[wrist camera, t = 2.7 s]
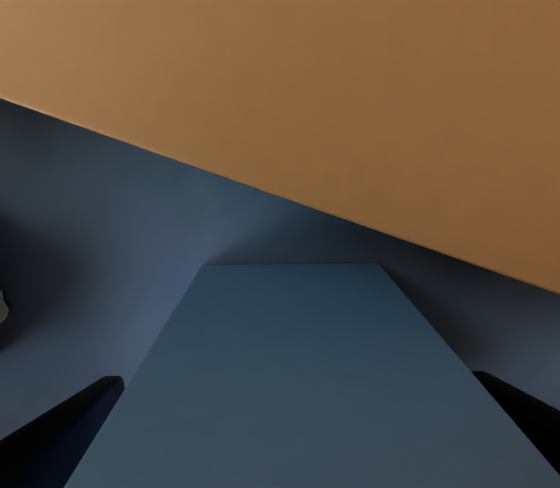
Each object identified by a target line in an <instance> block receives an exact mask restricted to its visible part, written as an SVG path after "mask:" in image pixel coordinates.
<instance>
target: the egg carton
mask: <svg viewBox="0 0 560 488" xmlns="http://www.w3.org/2000/svg"><path fill="white" fill-rule="evenodd" d="M8 312H9V309H8V307H7V305H6V304H5V302H4V300H3V294H2V291H1V290H0V323H2V322H3V321H4V320H5V319H6V317H7V314H8Z"/></svg>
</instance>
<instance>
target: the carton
mask: <svg viewBox="0 0 560 488" xmlns="http://www.w3.org/2000/svg"><path fill="white" fill-rule="evenodd" d="M64 488H560V475H559V474H558V473H557V471H556V470H555V469H554V468H553V467H552V466H551V464H550V463H549V462H548V461H547V460H546V459H545V457H544V456H543V455H542V454H541V453H540V452H539V450H538V449H537V448H536V447H535V446H534V445H533V443H532V442H531V441H530V440H529V439H528V437H527V436H526V435H525V434H524V433H523V432H522V430H521V429H520V428H519V427H518V426H517V425H516V423H515V422H514V421H513V420H512V419H511V418H510V416H509V415H508V414H507V413H506V412H505V411H504V409H503V408H502V407H501V406H500V405H499V404H498V402H497V401H496V400H495V399H494V398H493V397H492V395H491V394H490V393H489V392H488V391H487V390H486V388H485V387H484V386H483V385H482V384H481V383H480V381H479V380H478V379H477V378H476V377H475V376H474V374H473V373H472V372H471V371H470V370H469V369H468V367H467V366H466V365H465V364H464V363H463V362H462V360H461V359H460V358H459V357H458V356H457V355H456V353H455V352H454V351H453V350H452V349H451V348H450V346H449V345H448V344H447V343H446V342H445V341H444V339H443V338H442V337H441V336H440V335H439V334H438V332H437V331H436V330H435V329H434V328H433V327H432V325H431V324H430V323H429V322H428V321H427V319H426V318H425V317H424V316H423V315H422V314H421V312H420V311H419V310H418V309H417V308H416V307H415V305H414V304H413V303H412V302H411V301H410V300H409V298H408V297H407V296H406V295H405V294H404V293H403V291H402V290H401V289H400V288H399V287H398V286H397V284H396V283H395V282H394V281H393V280H392V279H391V277H390V276H389V275H388V274H387V273H386V272H385V270H384V269H383V268H382V267H381V266H380V265H379V263H333V264H255V265H202V266H201V267H200V269H199V271H198V272H197V274H196V275H195V277H194V279H193V280H192V282H191V283H190V285H189V287H188V288H187V290H186V292H185V293H184V295H183V296H182V298H181V300H180V301H179V303H178V304H177V306H176V308H175V309H174V311H173V312H172V314H171V316H170V317H169V319H168V321H167V322H166V324H165V325H164V327H163V329H162V330H161V332H160V333H159V335H158V337H157V338H156V340H155V342H154V343H153V345H152V346H151V348H150V350H149V351H148V353H147V354H146V356H145V358H144V359H143V361H142V362H141V364H140V366H139V367H138V369H137V371H136V372H135V374H134V375H133V377H132V379H131V380H130V382H129V383H128V385H127V387H126V388H125V390H124V392H123V393H122V395H121V396H120V398H119V400H118V401H117V403H116V404H115V406H114V408H113V409H112V411H111V412H110V414H109V416H108V417H107V419H106V421H105V422H104V424H103V425H102V427H101V429H100V430H99V432H98V433H97V435H96V437H95V438H94V440H93V442H92V443H91V445H90V446H89V448H88V450H87V451H86V453H85V454H84V456H83V458H82V459H81V461H80V463H79V464H78V466H77V467H76V469H75V471H74V472H73V474H72V475H71V477H70V479H69V480H68V482H67V483H66V485H65V487H64Z"/></svg>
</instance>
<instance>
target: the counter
mask: <svg viewBox="0 0 560 488" xmlns="http://www.w3.org/2000/svg"><path fill="white" fill-rule="evenodd" d="M0 99H3V100H6V101H9V102H12V103H15V104H17V105H20V106H23V107H26V108H29V109H32V110H35V111H37V112H40V113H43V114H46V115H49V116H52V117H55V118H57V119H60V120H63V121H66V122H69V123H72V124H75V125H77V126H80V127H83V128H86V129H89V130H92V131H94V132H97V133H100V134H103V135H106V136H109V137H112V138H114V139H117V140H120V141H123V142H126V143H129V144H132V145H134V146H137V147H140V148H143V149H146V150H149V151H151V152H154V153H157V154H160V155H163V156H166V157H169V158H171V159H174V160H177V161H180V162H183V163H186V164H189V165H191V166H194V167H197V168H200V169H203V170H206V171H209V172H211V173H214V174H217V175H220V176H223V177H226V178H228V179H231V180H234V181H237V182H240V183H243V184H246V185H248V186H251V187H254V188H257V189H260V190H263V191H266V192H268V193H271V194H274V195H277V196H280V197H283V198H286V199H288V200H291V201H294V202H297V203H300V204H303V205H305V206H308V207H311V208H314V209H317V210H320V211H323V212H325V213H328V214H331V215H334V216H337V217H340V218H343V219H345V220H348V221H351V222H354V223H357V224H360V225H362V226H365V227H368V228H371V229H374V230H377V231H380V232H382V233H385V234H388V235H391V236H394V237H397V238H400V239H402V240H405V241H408V242H411V243H414V244H417V245H420V246H422V247H425V248H428V249H431V250H434V251H437V252H439V253H442V254H445V255H448V256H451V257H454V258H457V259H459V260H462V261H465V262H468V263H471V264H474V265H477V266H479V267H482V268H485V269H488V270H491V271H494V272H496V273H499V274H502V275H505V276H508V277H511V278H514V279H516V280H519V281H522V282H525V283H528V284H531V285H534V286H536V287H539V288H542V289H545V290H548V291H551V292H554V293H556V294H559V295H560V0H0Z"/></svg>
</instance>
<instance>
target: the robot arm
mask: <svg viewBox="0 0 560 488" xmlns="http://www.w3.org/2000/svg"><path fill="white" fill-rule="evenodd" d="M471 372H472V373H473V374H474V376H475V377H476V378H477V379H478V380H479V381H480V383H481V384H482V385H483V386H484V387H485V388H486V390H487V391H488V392H489V393H490V394H491V395H492V397H493V398H494V399H495V400H496V401H497V402H498V404H499V405H500V406H501V407H502V408H503V409H504V411H505V412H506V413H507V414H508V415H509V416H510V418H511V419H512V420H513V421H514V422H515V423H516V425H517V426H518V427H519V428H520V429H521V430H522V432H523V433H524V434H525V435H526V436H527V437H528V439H529V440H530V441H531V442H532V443H533V445H534V446H535V447H536V448H537V449H538V450H539V452H540V453H541V454H542V455H543V456H544V457H545V459H546V460H547V461H548V462H549V463H550V464H551V466H552V467H553V468H554V469H555V470H556V471H557V473H558V474H559V475H560V411H559V410H557V409H556V408H554V407H552V406H550V405H548V404H546V403H544V402H542V401H540V400H538V399H537V398H535V397H533V396H531V395H529V394H527V393H525V392H523V391H521V390H519V389H517V388H516V387H514V386H512V385H510V384H508V383H506V382H504V381H502V380H500V379H498V378H496V377H495V376H493V375H491V374H489V373H487V372H485V371H471ZM124 390H125V387H124V381H123V379H122V377H120V376H105V377H102V378H101V379H99V380H97V381H96V382H94V383H93V384H91V385H89V386H88V387H86V388H85V389H83V390H81V391H80V392H78V393H76V394H75V395H73V396H72V397H70V398H68V399H67V400H65V401H63V402H62V403H60V404H59V405H57V406H55V407H54V408H52V409H50V410H49V411H47V412H46V413H44V414H42V415H41V416H39V417H37V418H36V419H34V420H33V421H31V422H29V423H28V424H26V425H25V426H23V427H21V428H20V429H18V430H16V431H15V432H13V433H12V434H10V435H8V436H7V437H5V438H3V439H2V440H0V488H64V487H65V485H66V483H67V482H68V480H69V479H70V477H71V475H72V474H73V472H74V471H75V469H76V467H77V466H78V464H79V463H80V461H81V459H82V458H83V456H84V454H85V453H86V451H87V450H88V448H89V446H90V445H91V443H92V442H93V440H94V438H95V437H96V435H97V433H98V432H99V430H100V429H101V427H102V425H103V424H104V422H105V421H106V419H107V417H108V416H109V414H110V412H111V411H112V409H113V408H114V406H115V404H116V403H117V401H118V400H119V398H120V396H121V395H122V393H123V392H124Z"/></svg>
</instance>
